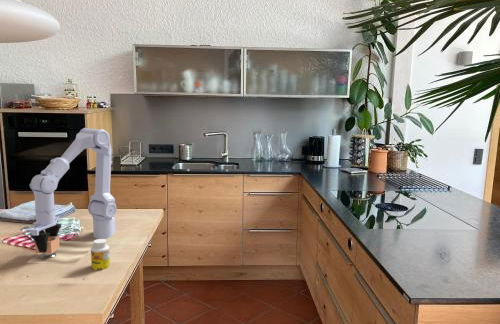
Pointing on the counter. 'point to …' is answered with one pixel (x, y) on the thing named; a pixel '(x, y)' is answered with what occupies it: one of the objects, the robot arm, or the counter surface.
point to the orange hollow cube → (50, 245)
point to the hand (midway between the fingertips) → (47, 248)
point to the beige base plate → (66, 253)
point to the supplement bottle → (100, 255)
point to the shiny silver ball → (47, 255)
